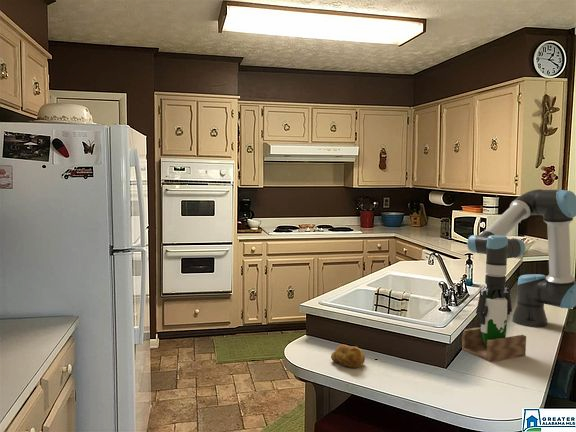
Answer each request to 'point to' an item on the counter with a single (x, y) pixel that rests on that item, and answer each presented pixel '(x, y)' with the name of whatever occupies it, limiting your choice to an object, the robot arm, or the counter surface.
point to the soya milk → (495, 318)
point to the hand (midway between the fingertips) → (493, 330)
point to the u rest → (493, 345)
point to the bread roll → (348, 356)
